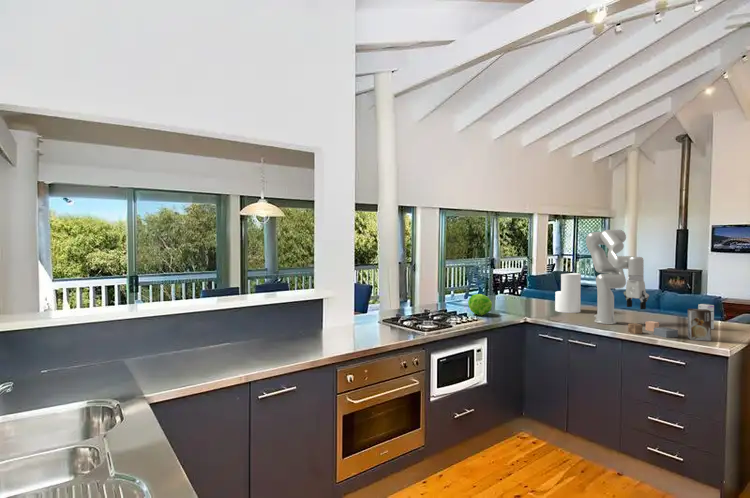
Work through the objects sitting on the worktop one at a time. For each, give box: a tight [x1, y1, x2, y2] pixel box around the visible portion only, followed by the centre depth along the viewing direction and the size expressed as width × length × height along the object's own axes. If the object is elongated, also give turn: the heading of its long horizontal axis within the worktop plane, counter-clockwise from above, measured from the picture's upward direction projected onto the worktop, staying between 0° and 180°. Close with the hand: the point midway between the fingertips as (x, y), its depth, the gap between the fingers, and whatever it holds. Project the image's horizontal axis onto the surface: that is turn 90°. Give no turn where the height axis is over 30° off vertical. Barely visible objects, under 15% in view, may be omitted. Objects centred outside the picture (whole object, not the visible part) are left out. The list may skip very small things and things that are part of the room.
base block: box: [653, 326, 679, 339], centre depth 248 cm, size 8×8×4 cm
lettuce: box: [467, 293, 493, 316], centre depth 317 cm, size 17×20×15 cm
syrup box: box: [697, 303, 715, 330], centre depth 266 cm, size 6×6×14 cm
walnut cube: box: [627, 322, 643, 335], centre depth 255 cm, size 5×5×5 cm
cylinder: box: [554, 272, 582, 314], centre depth 331 cm, size 17×17×28 cm
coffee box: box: [687, 308, 712, 342], centre depth 238 cm, size 9×6×16 cm
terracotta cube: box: [645, 320, 660, 332], centre depth 262 cm, size 5×5×5 cm
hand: (636, 308), depth 254 cm, fingers open, 9 cm apart
